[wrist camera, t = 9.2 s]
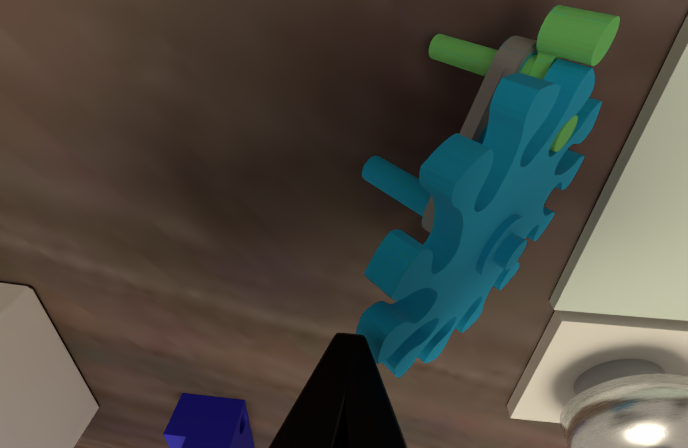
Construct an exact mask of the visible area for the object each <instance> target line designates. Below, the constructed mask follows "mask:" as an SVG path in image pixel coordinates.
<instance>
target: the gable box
mask: <svg viewBox="0 0 688 448" xmlns="http://www.w3.org/2000/svg"><path fill="white" fill-rule="evenodd" d="M98 408H99V407H98V404H97V403H96V401H95V399H94V397H93V395H92V394H91V392H90V390H89V388H88V387H87V385H86V383H85V381H84V379H83V378H82V376H81V374H80V372H79V371H78V369H77V367H76V365H75V363H74V362H73V360H72V358H71V356H70V354H69V353H68V351H67V349H66V347H65V346H64V344H63V342H62V340H61V338H60V337H59V335H58V333H57V331H56V330H55V328H54V326H53V324H52V322H51V321H50V319H49V317H48V315H47V314H46V312H45V310H44V308H43V306H42V305H41V303H40V301H39V299H38V298H37V296H36V294H35V292H34V290H33V289H32V287H30V286H23V285H15V284H7V283H0V448H74V446H75V445H76V443H77V441H78V440H79V438H80V437H81V435H82V434H83V432H84V430H85V429H86V427H87V426H88V424H89V423H90V421H91V419H92V418H93V416H94V415H95V413H96V412H97V410H98Z"/></svg>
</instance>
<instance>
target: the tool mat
mask: <svg viewBox="0 0 688 448" xmlns="http://www.w3.org/2000/svg"><path fill="white" fill-rule="evenodd" d="M549 301H550V303H551V305H552V308H553V310H562V311H574V312H586V313H598V314H610V315H622V316H635V317H647V318H659V319H671V320H683V321H688V15H687V17H686V19H685V21H684V23H683V25H682V27H681V29H680V31H679V33H678V35H677V37H676V39H675V41H674V44H673V46H672V48H671V50H670V52H669V54H668V56H667V58H666V60H665V62H664V64H663V66H662V68H661V70H660V72H659V75H658V77H657V79H656V81H655V83H654V85H653V87H652V89H651V91H650V93H649V95H648V97H647V99H646V101H645V103H644V106H643V108H642V110H641V112H640V114H639V116H638V118H637V120H636V122H635V124H634V126H633V128H632V130H631V132H630V134H629V137H628V139H627V141H626V143H625V145H624V147H623V149H622V151H621V153H620V155H619V157H618V159H617V161H616V163H615V165H614V168H613V170H612V172H611V174H610V176H609V178H608V180H607V182H606V184H605V186H604V188H603V190H602V192H601V194H600V196H599V199H598V201H597V203H596V205H595V207H594V209H593V211H592V213H591V215H590V217H589V219H588V221H587V223H586V225H585V227H584V230H583V232H582V234H581V236H580V238H579V240H578V242H577V244H576V246H575V248H574V250H573V252H572V254H571V256H570V258H569V261H568V263H567V265H566V267H565V269H564V271H563V273H562V275H561V277H560V279H559V281H558V283H557V285H556V287H555V289H554V292H553V294H552V296H551V298H550V300H549Z"/></svg>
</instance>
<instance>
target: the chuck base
mask: <svg viewBox="0 0 688 448" xmlns="http://www.w3.org/2000/svg"><path fill="white" fill-rule="evenodd" d="M642 374H674V375H682V376H686V377H688V321H683V320H671V319H659V318H647V317H635V316H622V315H610V314H598V313H586V312H574V311H562V310H555V312H554V314H553V316H552V318H551V320H550V321H549V323H548V325H547V327H546V329H545V331H544V333H543V335H542V337H541V339H540V341H539V343H538V345H537V347H536V349H535V351H534V353H533V355H532V357H531V359H530V361H529V363H528V365H527V367H526V369H525V371H524V373H523V375H522V377H521V379H520V381H519V382H518V384H517V386H516V388H515V390H514V392H513V394H512V396H511V398H510V400H509V402H508V404H507V408H508V412H509V416H510V418H514V419H524V420H534V421H544V422H554V423H560V414H561V412H562V410H563V408H564V407H565V405H566V404H567V403H568V402H569V401H570V400H571V399H572V398H574V397H575V396H576V395H578V394H579V393H581V392H583V391H585V390H587V389H589V388H591V387H593V386H595V385H598V384H601V383H603V382H607V381H610V380H613V379H617V378H622V377H627V376H633V375H642Z"/></svg>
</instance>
